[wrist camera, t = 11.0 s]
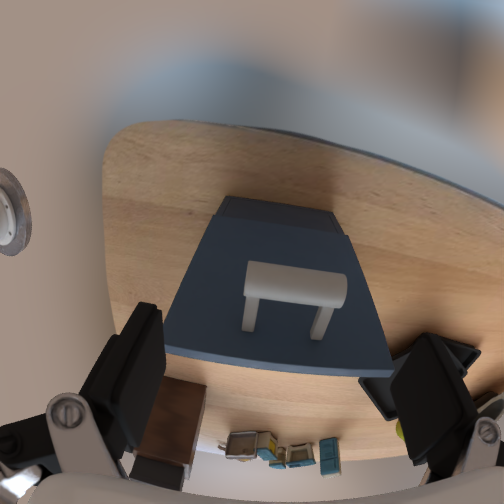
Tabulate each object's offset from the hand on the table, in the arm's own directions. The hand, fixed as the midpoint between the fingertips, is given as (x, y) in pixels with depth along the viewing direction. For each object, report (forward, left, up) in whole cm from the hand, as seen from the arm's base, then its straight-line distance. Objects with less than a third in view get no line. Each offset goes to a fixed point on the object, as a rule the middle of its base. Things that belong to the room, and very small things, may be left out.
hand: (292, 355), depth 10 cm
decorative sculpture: (+38, -53, -28) cm, 71 cm away
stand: (+16, -45, -28) cm, 55 cm away
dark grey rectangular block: (+16, -45, -10) cm, 49 cm away
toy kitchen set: (+47, -41, -28) cm, 68 cm away
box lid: (+3, -3, -12) cm, 13 cm away
